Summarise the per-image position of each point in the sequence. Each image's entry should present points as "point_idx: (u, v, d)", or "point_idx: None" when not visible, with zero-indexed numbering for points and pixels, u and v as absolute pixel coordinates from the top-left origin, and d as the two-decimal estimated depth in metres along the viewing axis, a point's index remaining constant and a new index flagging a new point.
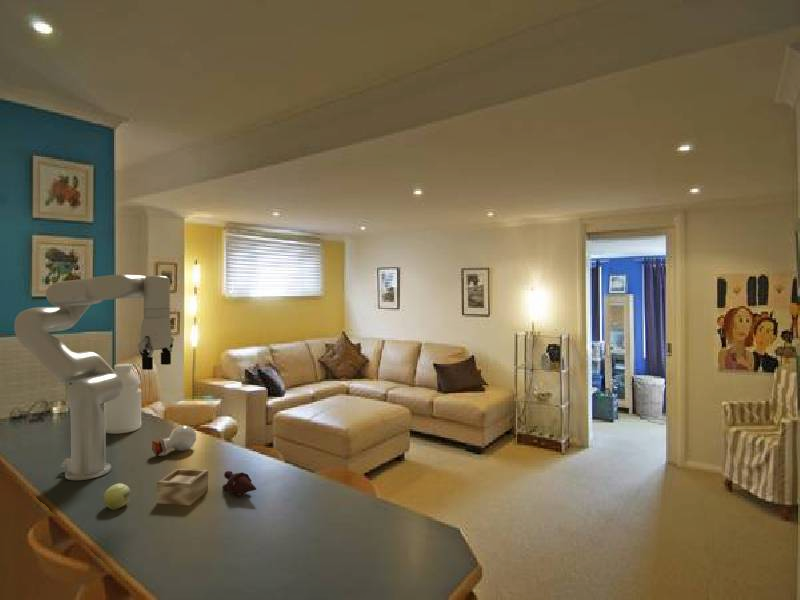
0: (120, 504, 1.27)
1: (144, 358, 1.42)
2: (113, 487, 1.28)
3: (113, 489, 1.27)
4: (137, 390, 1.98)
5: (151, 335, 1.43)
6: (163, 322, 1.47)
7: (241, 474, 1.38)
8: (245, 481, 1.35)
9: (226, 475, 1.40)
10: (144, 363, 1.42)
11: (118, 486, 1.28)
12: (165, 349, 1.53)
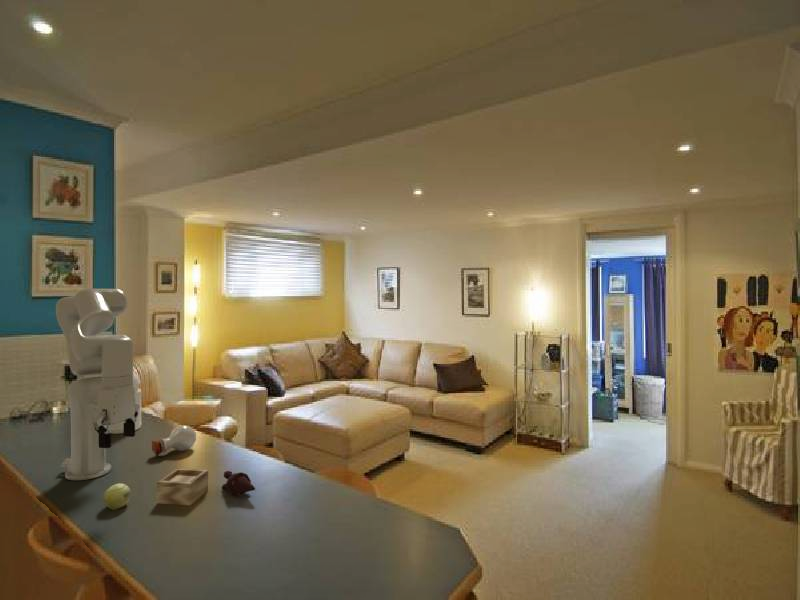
0: (120, 504, 1.27)
1: (101, 435, 1.23)
2: (113, 487, 1.28)
3: (113, 489, 1.27)
4: (137, 390, 1.98)
5: (109, 409, 1.24)
6: (124, 391, 1.28)
7: (240, 474, 1.38)
8: (244, 481, 1.35)
9: (225, 474, 1.40)
10: (101, 441, 1.23)
11: (118, 486, 1.28)
12: (129, 419, 1.34)
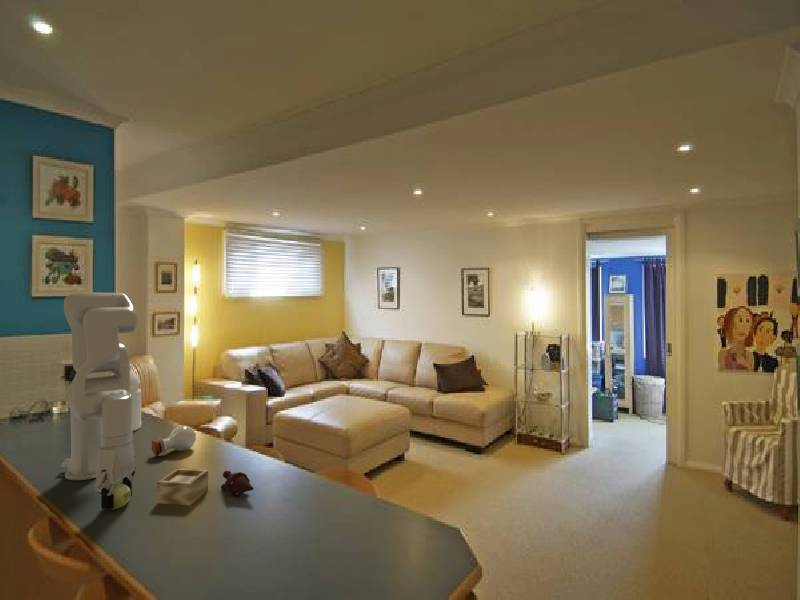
0: (120, 504, 1.27)
1: (103, 497, 1.25)
2: None
3: (113, 489, 1.27)
4: (137, 390, 1.98)
5: (108, 469, 1.24)
6: (123, 449, 1.28)
7: (239, 474, 1.38)
8: (243, 481, 1.35)
9: (224, 474, 1.40)
10: (103, 502, 1.25)
11: (118, 486, 1.28)
12: (126, 478, 1.33)
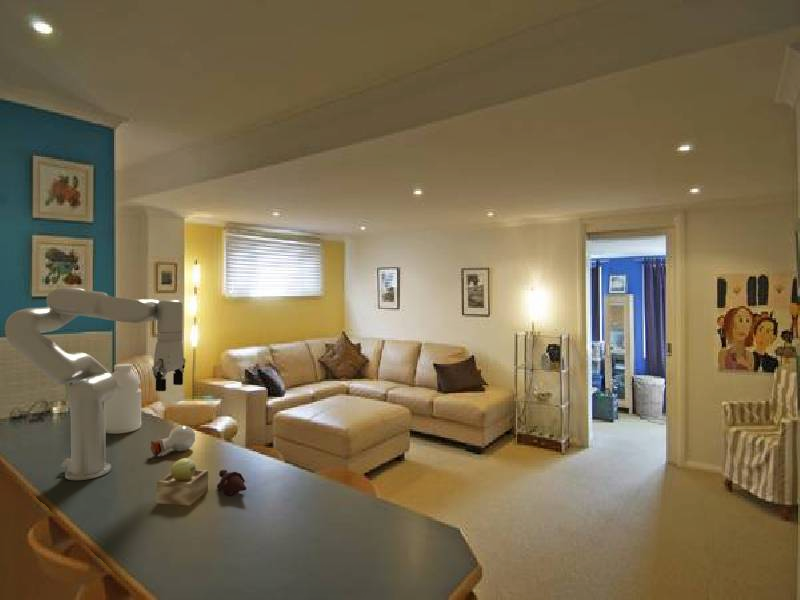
0: (187, 477, 1.34)
1: (158, 380, 1.48)
2: (180, 461, 1.35)
3: (180, 463, 1.34)
4: (137, 390, 1.98)
5: (164, 358, 1.48)
6: (175, 344, 1.52)
7: (234, 473, 1.38)
8: (237, 481, 1.35)
9: (220, 473, 1.41)
10: (158, 385, 1.48)
11: (185, 460, 1.35)
12: (177, 370, 1.59)
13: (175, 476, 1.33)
